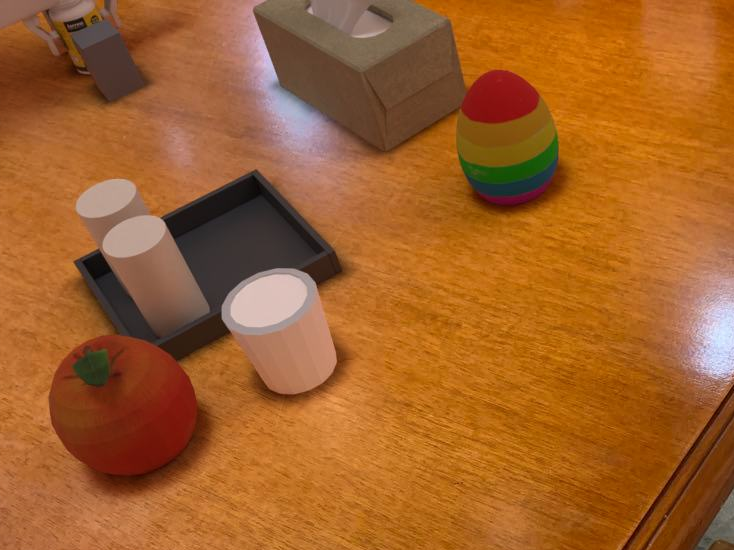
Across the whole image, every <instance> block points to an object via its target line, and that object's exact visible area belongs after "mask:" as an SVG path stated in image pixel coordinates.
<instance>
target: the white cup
mask: <svg viewBox="0 0 734 550" xmlns="http://www.w3.org/2000/svg"><path fill="white" fill-rule="evenodd" d="M317 286H318V285H316V283H315V282H314V281H313V279H312V278H311V277H310V276H309V275H308V274H307V273H304V272H302V271H299V270H296V269H288V268H276V269H272V270H268V271H264V272H260V273H257V274H255V275H253V276H251V277H249V278H247V279H246V280H244V281H242V282H241V283H239V284H238V285H237V286H236V287H235V288H234V289H233V290H232V291H231V292H230V293H229V294H228V296H227V297H226V299H225V301H224V303H223V305H222V320H223V321H224V323H225V324H226V326H227V327H228V329H229V330H230V332H229V333H231V335H232V336H233V338H234V340H235V341H236V342H237V344H238V345H239V347H240V348H241V350H242V351H243V353H244V354H245V356H246V357H247V359H248V361H249V362H250V363H251V365H252V366H253V368H254V369H255V371H256V372H257V374H258V375H259V377H260V378H261V380H262V381H263V383H264V384H265V385H266V387H267V389H268V390H270V391H273V392H275V393H277V394H279V395H297V394H301V393H305V392H309V391H311V390H313V389H314V388H316V387H318V386H321V385H322V384H323V383H324V382H325V381H327V379H328V378H329V377H330V376H331V375H332V374H333V372H334V370H335V368H336V365H337V363H338V360H337V352H336V348H335V345H334V342H333V341H334V340H333V337H332V335H331V331H330V327H329V325H328V321H327V317H326V314H325V311H324V306H323V303H322V300H321V296H320V293H319V290H318V287H317Z"/></svg>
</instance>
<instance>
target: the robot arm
mask: <svg viewBox="0 0 734 550" xmlns="http://www.w3.org/2000/svg"><path fill="white" fill-rule="evenodd" d="M59 3H60V0H0V31H2V30H4V29H6V28H9V27H10V26H13V25H15V24H17V23H20V22H22V24H23V25H24V26H25V27H26V28H27V30H28V31H30V32H31V33H33V34H34V35H35V36H37V37H38V38H40V39H41V40H43V41H44V42H45V43H46V44H47V46H48V48H49V50H50V51H51V53H52V54H53V56H54V57H55V58H57V57H60V56H61V55H63V54H65V53H68V52H67V51H68V48H67V47H66V45H65V44H64V41H63V39H62V37H61V36H60V34H58V32H57V31H56V30H54V31H52V30H51V31H50V32H49V31H47V30H45V29H44V28H43V27H41V25H42V23H41V21H40V19H39V16H38V14H42V12H43V11H45V10H47V9H50V8H52V7H54V6H57V5H58V4H59ZM117 9H118V0H103V8H101V9H98V10H99V12H100V14H101V16H102V18H103V20H104V19H107V20H108V21H109V22H110V23H111V24H112V25H113V26H114V27H115V28H116V29H117V30H120V29H121V28H123V27H124V26H123V24H122V22H121V18H120V17H119V15H118V13H117V11H118V10H117Z"/></svg>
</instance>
